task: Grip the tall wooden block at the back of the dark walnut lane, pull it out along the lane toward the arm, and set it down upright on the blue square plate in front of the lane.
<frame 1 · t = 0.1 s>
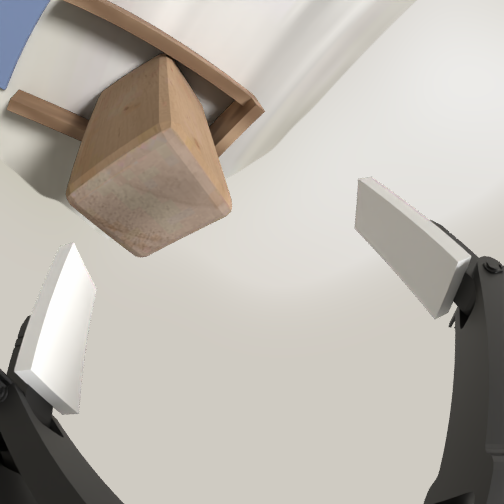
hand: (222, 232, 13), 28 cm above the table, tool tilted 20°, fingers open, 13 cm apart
walnut lane: (125, 85, 29), on the table
wooden block: (151, 98, 32), resting in walnut lane
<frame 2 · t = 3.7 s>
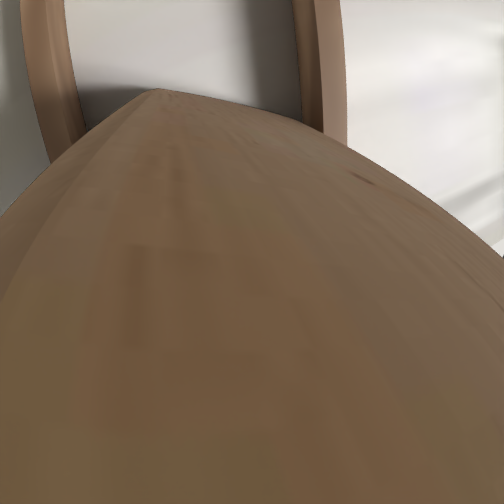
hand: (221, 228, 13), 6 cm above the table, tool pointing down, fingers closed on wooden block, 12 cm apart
walnut lane: (195, 114, 16), on the table
wooden block: (205, 176, 18), resting in walnut lane, touching gripper
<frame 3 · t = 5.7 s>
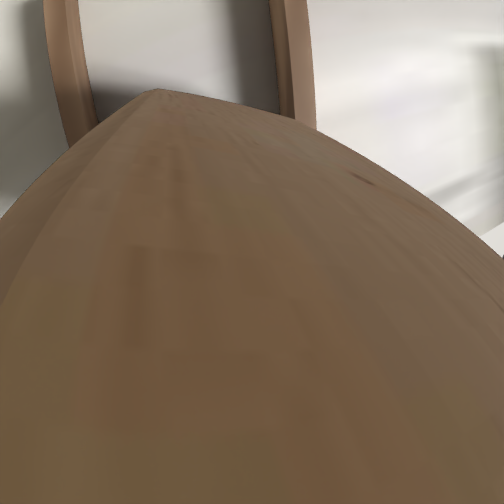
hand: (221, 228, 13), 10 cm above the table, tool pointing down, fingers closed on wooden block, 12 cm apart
walnut lane: (192, 128, 20), on the table
wooden block: (205, 176, 18), point 4 cm above the table, touching gripper
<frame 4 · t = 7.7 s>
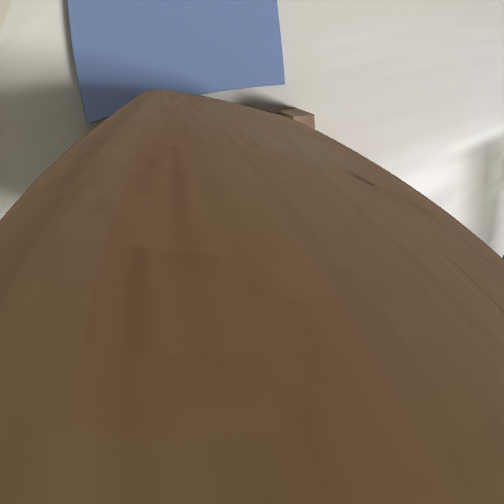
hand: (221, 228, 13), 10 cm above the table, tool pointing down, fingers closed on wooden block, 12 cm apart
walnut lane: (217, 268, 27), on the table
wooden block: (205, 176, 18), point 3 cm above the table, touching gripper
blue square plate: (172, 5, 14), on the table
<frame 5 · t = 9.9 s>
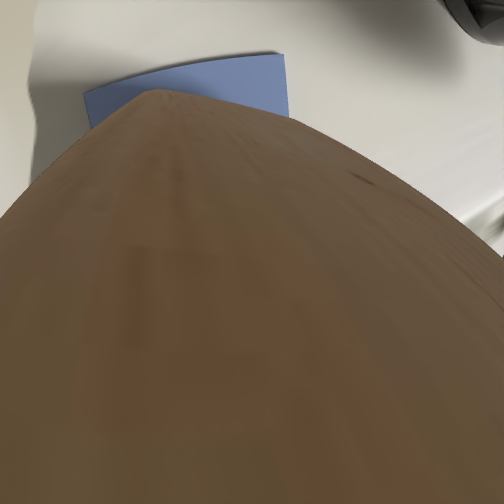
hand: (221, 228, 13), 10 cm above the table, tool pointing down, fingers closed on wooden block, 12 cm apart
wooden block: (205, 176, 18), point 4 cm above the table, touching gripper
blue square plate: (197, 157, 21), on the table
when the fingers open (8 cm above the table, at t = 11.7 s): wooden block stays where it is, resting on blue square plate.
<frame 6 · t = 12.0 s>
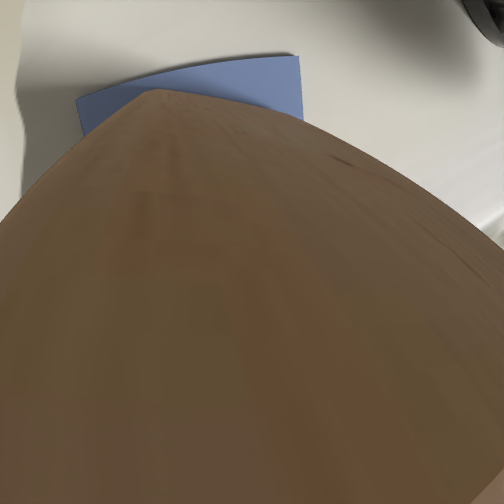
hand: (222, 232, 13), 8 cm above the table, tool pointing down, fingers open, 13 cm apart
wooden block: (205, 171, 19), resting on blue square plate
blue square plate: (203, 170, 19), on the table
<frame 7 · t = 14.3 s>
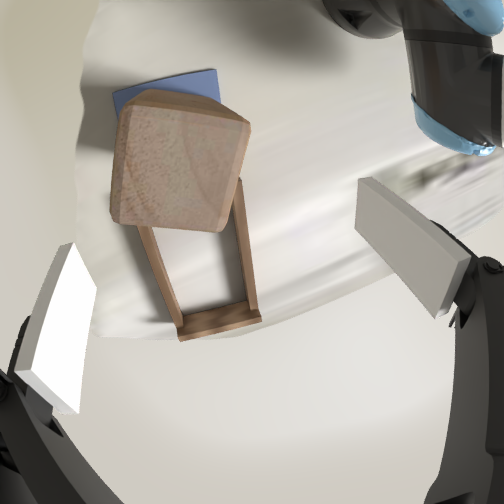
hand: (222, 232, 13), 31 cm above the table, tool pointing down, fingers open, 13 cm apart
walnut lane: (200, 255, 50), on the table
wooden block: (172, 127, 37), resting on blue square plate
blue square plate: (172, 126, 37), on the table
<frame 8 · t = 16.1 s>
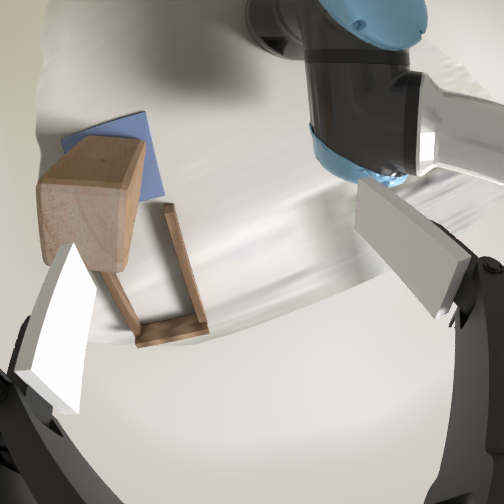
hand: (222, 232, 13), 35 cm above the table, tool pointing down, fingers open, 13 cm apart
walnut lane: (150, 274, 55), on the table
wooden block: (112, 166, 41), resting on blue square plate
blue square plate: (112, 165, 42), on the table
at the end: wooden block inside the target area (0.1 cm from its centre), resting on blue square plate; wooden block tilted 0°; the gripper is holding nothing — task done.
